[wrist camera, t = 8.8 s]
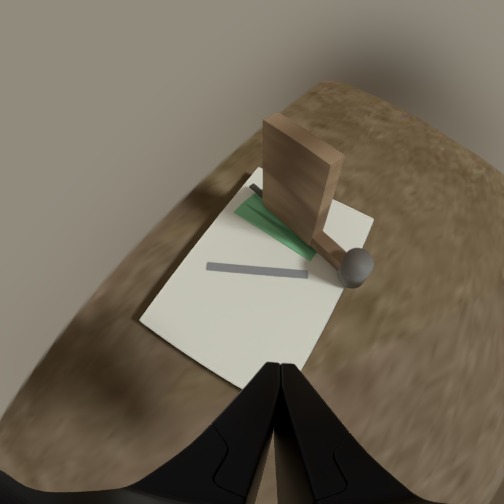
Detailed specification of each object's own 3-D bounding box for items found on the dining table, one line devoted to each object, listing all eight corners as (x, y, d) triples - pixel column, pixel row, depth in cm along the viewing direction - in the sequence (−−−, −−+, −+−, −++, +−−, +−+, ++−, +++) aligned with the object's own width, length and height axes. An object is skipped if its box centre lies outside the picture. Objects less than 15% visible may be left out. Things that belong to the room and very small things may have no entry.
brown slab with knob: (369, 275, 20) (417, 205, 13) (352, 294, 19) (398, 227, 12) (260, 180, 24) (260, 97, 17) (241, 192, 24) (235, 108, 17)
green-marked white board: (370, 226, 24) (374, 218, 23) (277, 408, 17) (278, 408, 16) (258, 174, 27) (258, 166, 26) (143, 324, 20) (138, 319, 19)
